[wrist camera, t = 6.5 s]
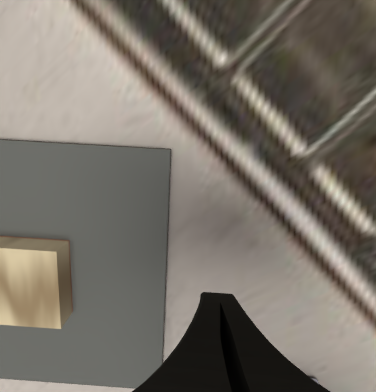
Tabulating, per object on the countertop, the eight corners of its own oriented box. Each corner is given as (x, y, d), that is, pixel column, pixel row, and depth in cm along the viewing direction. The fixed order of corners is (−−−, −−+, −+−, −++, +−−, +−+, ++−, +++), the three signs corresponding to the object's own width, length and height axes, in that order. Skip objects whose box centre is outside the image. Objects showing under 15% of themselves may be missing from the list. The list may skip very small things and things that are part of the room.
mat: (161, 384, 24) (160, 390, 24) (-22, 370, 25) (-27, 376, 24) (171, 149, 20) (170, 149, 19) (-56, 136, 20) (-63, 136, 19)
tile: (60, 329, 20) (-35, 322, 21) (72, 311, 22) (-15, 305, 23) (56, 251, 19) (-47, 244, 19) (69, 240, 21) (-25, 234, 21)
